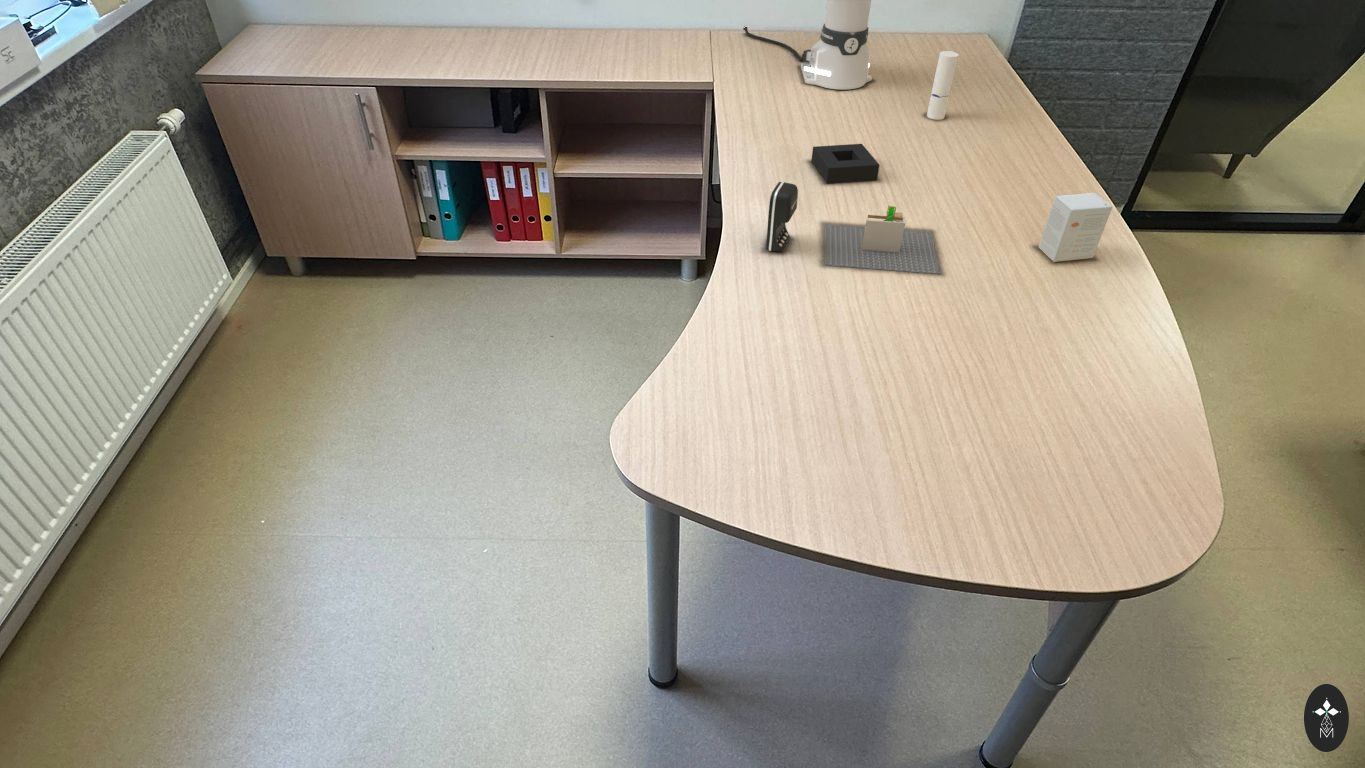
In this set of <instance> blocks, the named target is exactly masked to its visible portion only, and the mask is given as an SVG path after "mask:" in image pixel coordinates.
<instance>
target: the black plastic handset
mask: <svg viewBox="0 0 1365 768" xmlns="http://www.w3.org/2000/svg"><path fill="white" fill-rule="evenodd" d="M798 196H799V189H798V186H797V185H796V184H794V183H790V182H785V181H778V182H777V184H776V185H775V187H774V188H773V190H772V191H771V195H770V197H769V206H768V217H767V228H766V229H767V230H766V239H765V240H766V241H765V250H768V251H769V252H783V250H785V247H786V246H787V244H788V243H789V241H790V238H791V235H790V234H789V232H788V229H787V225H786V224H787V223H789V222H790V221H791V219H792V217H793V215H794V214H795V212H796V210H797V209H798V198H799V197H798Z"/></svg>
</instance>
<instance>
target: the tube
mask: <svg viewBox="0 0 1365 768" xmlns="http://www.w3.org/2000/svg"><path fill="white" fill-rule="evenodd" d="M958 59H959V53H958V52H955V51H950V50H943V51H940V52H939V55H938V60H937V64H936V69H935V74H934V79H933V84H932V88H931V94H930V99H929V103H928V109H927V112H926V117H927V118H928V119H931V120H936V121H940V120H944V119H945V117H946V112H947V108H948V104H949V99H950V94H951V90H952V85H953V80H954V77H955V73H956V68H957V63H958Z"/></svg>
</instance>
